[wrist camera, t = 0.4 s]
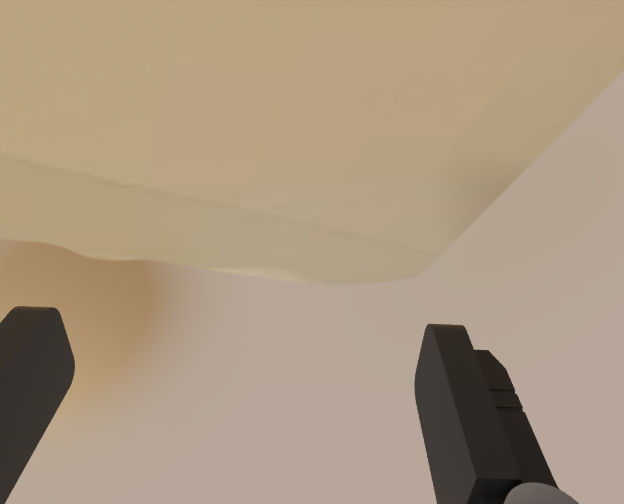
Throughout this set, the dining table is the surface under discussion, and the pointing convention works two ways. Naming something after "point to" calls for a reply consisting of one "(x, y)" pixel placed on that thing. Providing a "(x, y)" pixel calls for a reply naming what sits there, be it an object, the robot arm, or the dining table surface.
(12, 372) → the robot arm
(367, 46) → the dining table surface
